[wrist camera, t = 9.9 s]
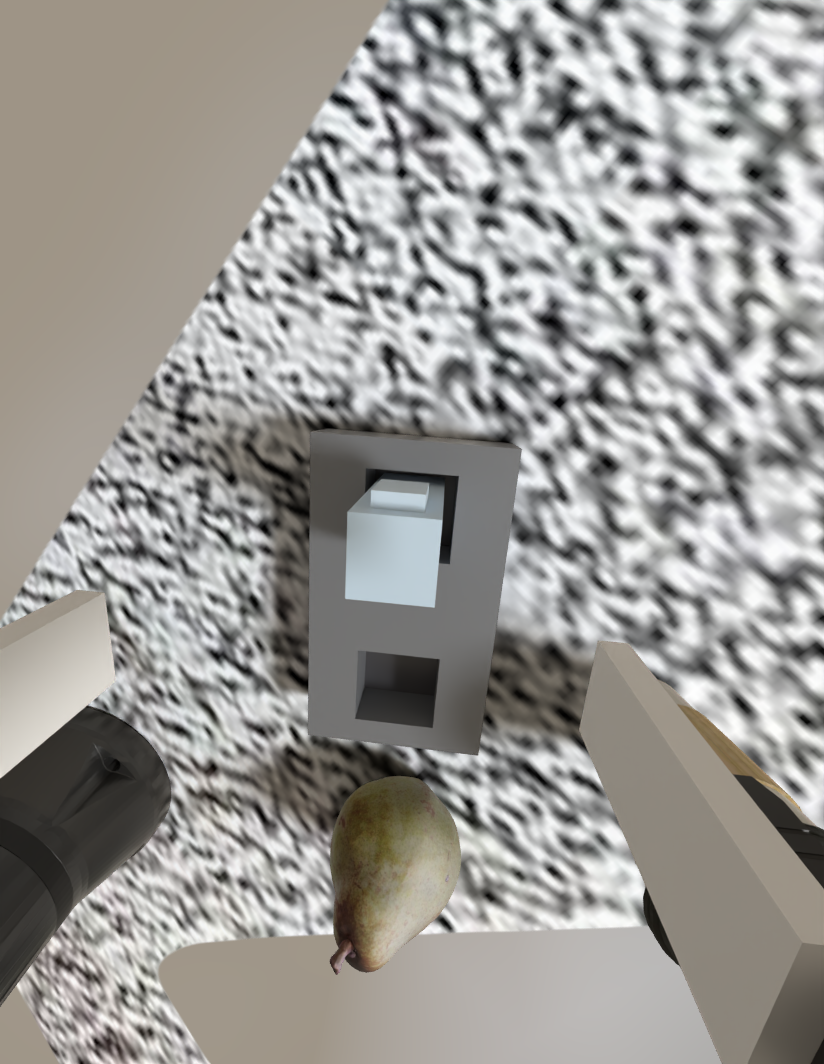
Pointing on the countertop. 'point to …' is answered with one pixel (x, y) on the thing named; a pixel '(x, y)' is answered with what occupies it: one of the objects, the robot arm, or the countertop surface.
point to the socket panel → (405, 630)
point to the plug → (395, 541)
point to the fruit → (389, 869)
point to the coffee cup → (736, 765)
